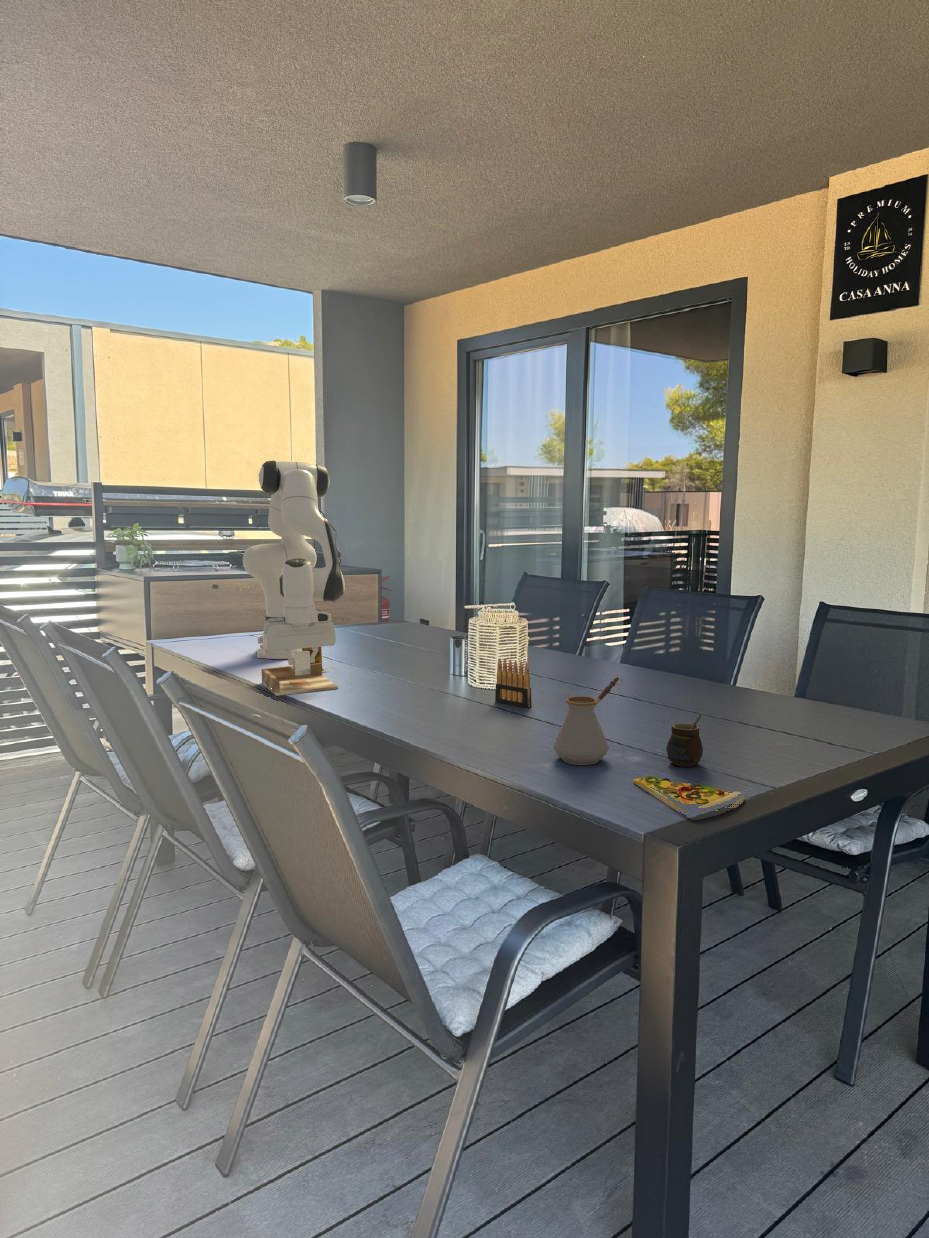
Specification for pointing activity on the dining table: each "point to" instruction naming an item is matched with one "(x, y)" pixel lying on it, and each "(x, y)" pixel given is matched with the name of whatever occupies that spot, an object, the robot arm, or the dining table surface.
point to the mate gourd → (685, 744)
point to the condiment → (318, 656)
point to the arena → (295, 680)
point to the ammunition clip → (513, 685)
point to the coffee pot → (582, 731)
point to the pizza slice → (686, 793)
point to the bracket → (301, 663)
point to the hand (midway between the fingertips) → (301, 663)
